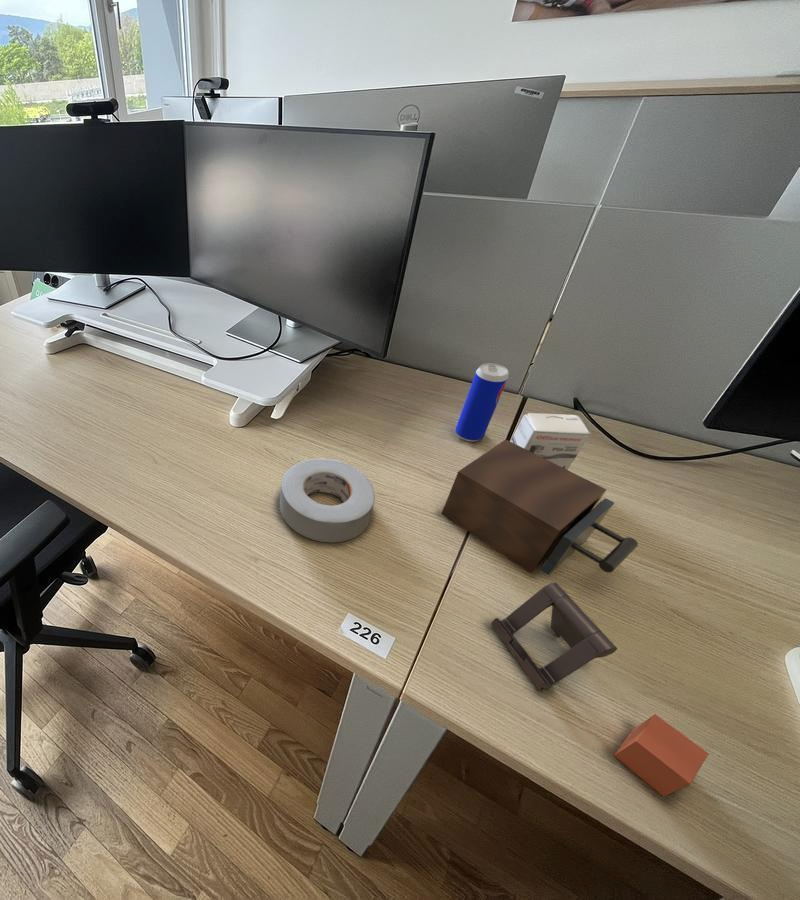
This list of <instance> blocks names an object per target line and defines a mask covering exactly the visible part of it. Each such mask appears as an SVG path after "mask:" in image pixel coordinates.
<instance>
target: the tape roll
mask: <svg viewBox="0 0 800 900" xmlns="http://www.w3.org/2000/svg"><path fill="white" fill-rule="evenodd" d="M280 483H281V484H280V493H279V494H280V495H279V511H280V515H281V517H282V519H283V520H284V522H285V523H286V524H287V525H288V526H289V527H290V528H291V529H292V530H293V531H294V532H296V533H297V534H299V535H301V536H302V537H305V538H306V539H309V540H313V541H316V542H322V543H341V542H346V541H349V540H353V539H355V538H356V537H358V536H359V535H361V534H362V533H363V532H364V531H365V530H366V529H367V527H368V525H369V524H370V520H371V516H372V512H373V508H374V505H375V499H376V495H375V491H374V487H373V483H372V482H371V480H370V479H369V478H368V477H367V475H366V474H365V473H363V472H362V471H361V470H360V469H358V468H357V467H356V466H353V465H351V464H349V463H346V462H344V461H340V460H337V459H332V458H323V457H322V458H321V457H319V458H311V459H307V460H302V461H300V462H298V463H296V464H294V465H293V466H291V467H289V468H288V470H287V471H286V472H285V473H284V475H283V477H282V480H281V482H280ZM314 493H327V494H330V495H333V496H335V497H337V498H338V499H340V500H341V501H342V503H339V504H333V505H331V504H323V503H320V502H317V501H315V500H313V499H312V498H311V497H310V495H312V494H314Z"/></svg>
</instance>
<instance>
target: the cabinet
mask: <svg viewBox="0 0 800 900" xmlns="http://www.w3.org/2000/svg"><path fill="white" fill-rule="evenodd" d="M606 491H607V488H605V487H603V486H601V485H598V484H597V483H595V482H592V481H591V480H589V479H587V478H584V477H582V476H581V475H579V474H576V473H575V472H572V471H571V470H569V469H568V470H566V469H564V468H562V467H560V466H558V465H556V464H554V463H552V462H550V461H548V460H546V459H544V458H542V457H540V456H538V455H536V454H534V453H532V452H530V451H528V450H526V449H524V448H522V447H520V446H518V445H516V444H514V443H512V442H511V440H508V439H504V440H502V441H501V442H499V443H497V444H496V445H495V446H493V447H492V448H491V449H489V450H487V451H486V452H485V453H483V454H481V455H480V456H479V457H477V458H476V459H474V460H472V461H471V462H470V463H468V464H467V465H466V466H465V465H464V467H462V468H460V470H458V471H457V474H456V476H455V478H454V481H453V483H452V486H451V488H450V491H449V494H448V495H447V498H446V502H445V504H444V506H443V509H442V511H441V515H443V516H444V517H446V518H447V519H449V520H450V521H452V523H455V524H456V525H457V526H459V527H460V528H462V529H464V530H465V531H467V532H468V533H470V534H471V535H473V536H474V537H476V538H477V539H479V540H480V541H482V542H483V543H484V544H486V545H487V546H489V547H491V548H492V549H493V550H495V551H496V552H498V553H499V554H501V555H502V556H504V557H505V558H507V559H508V560H510V561H512V562H513V563H515V564H516V565H517V566H519V567H520V568H522V569H523V570H525V571H526V572H528V573H529V574H533V573H534V572H535V571H536V570H537V569H539V567H540V566H541V565H543V564H544V563H545V562H546V560H547V559H548V557H549V556H550V554H551V553H552V551H553V550H554V549H555V547H556V546H557V544H558V543H559V541H560V540H561V538H562V537H563V535H565V534H566V533H567V532H568V531H569V530H570V529H571V528H572V527H574V526H575V525H576V524H577V523H578V522H579V521H580V520H581V519H583V518H584V517H585V516H586V515H587V514H588V513H589V512H590V511H591V510H593V509H594V508H595V507H596V506H597V505H598V504H599V501H600V500H601V499H602V497H603V496H604V494H605V493H606ZM573 520H574V522H573V523H572V524H571V526H570V527H569V529H568V530H566V531H565V532H564V533H563V534H562V535H561V536H560V537H559V538H557V536H558V535H559V533H560V532H561V531H562V530H563V529H564V528H566V527H567V526H568V525H569V524H570V523H571V522H572V521H573ZM556 538H557V539H556ZM555 539H556V540H555Z"/></svg>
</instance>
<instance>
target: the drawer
mask: <svg viewBox="0 0 800 900" xmlns="http://www.w3.org/2000/svg"><path fill="white" fill-rule="evenodd" d="M614 505H615V502H614V501H612V500H610V499H609V498H607V497H605V498H604V499H602V500H601V502H598V503H597V504H596V505H595V507H594V508H593V510H591V511H590V512H589V513H588V514H587V515H586V516H585V517H584V518H583V519H581V520H580V521H579V522H578V523H577V524H576V525H575V526H574V527H572V528H571V529H570V530H569V531H568V532H567V533H566V534H565V535H563V537H562V538H561V540H560V541H559V543H558V544H557V546H556V547H555V549H554V550H553V551H552V553H551V554H550V556H549V557H548V559H547V560H546V561H545V562H544V563H543V564H542V566H541V567H540V569H539V571H540V572H542V574H545V575H546V576H550V575H551V574H552V573H553V572H555V570H556V569H558V567H559V566H560V565H561V564H562V563H564V562H565V561H566V560H567V559H568V558H569V557H570V556H571V555H572V554H573V553H574V552H575V551H576V552H578V553H580V554H582V555H583V556H585V557H587V558H589V559H590V560H592V561H594V562H595V563H597V564H598V567H599V569H601V571H603V572H605V573H609V574H610V573H613V572H614V571H615V570H616V569H617V568H618V567H619V566H620V564H622V563H623V562H624V561H625V560H626V559H627V558H628V557H629V555H631V553H633V551H634V550H635V549H636V548H638V546H639V543H638V541H637V540H636V539H635V538H634V537H633V538H632V537H629V536H627V537H623V536H621V535H619V534H618V533H616V532H614V531H612V530H610V529H608V528H607V527H605V526H603V525H601V522H602V521H603V520H604V518H605V517H606V516H607V514H608V513H609V511H610V510H611V509H612V507H613V506H614ZM573 522H574V520H573V521H572V522H571V523H570V524H569V525H568V526H567V527H566V528H564V529H563V530H562V531H561V532H560V533H559V535H558V536H557V538H559V537H560V536H561V535H562V534H563V533H564V532H565V531H566V530H568V529H569V527H570V526H571V524H572V523H573ZM596 530H597V531H599V532H601V533H602V534H604V535H606V536H608V537H610V538H611V539H613V540H615V541H616V542H619V543H617V545H616V546H615V547H614V548H613V549H611V551H610V552H609V553H608V554H606V556H605V557H604V558H602V557H600V556H599V555H597V554H595V553H594V552H592V551H590V550H589V549H586V548H585V547H583V546H582V545H583V544H584V543H585V542H587V540H588V539H590V537H591V536H592V534H594V532H595V531H596ZM557 538H556V539H557ZM556 539H555V540H556Z"/></svg>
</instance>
